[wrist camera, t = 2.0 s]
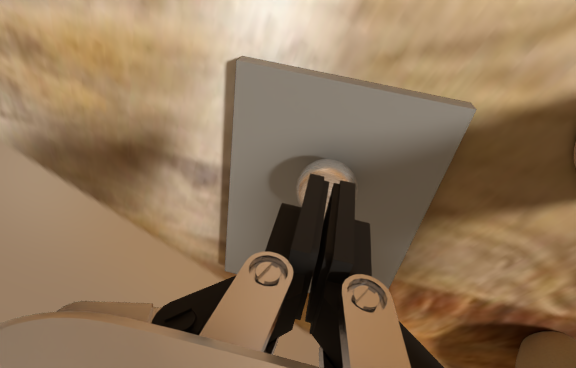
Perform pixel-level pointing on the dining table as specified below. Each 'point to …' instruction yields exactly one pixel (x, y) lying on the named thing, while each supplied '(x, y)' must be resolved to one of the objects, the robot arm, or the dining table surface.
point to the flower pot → (547, 351)
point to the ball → (325, 177)
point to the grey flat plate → (336, 153)
